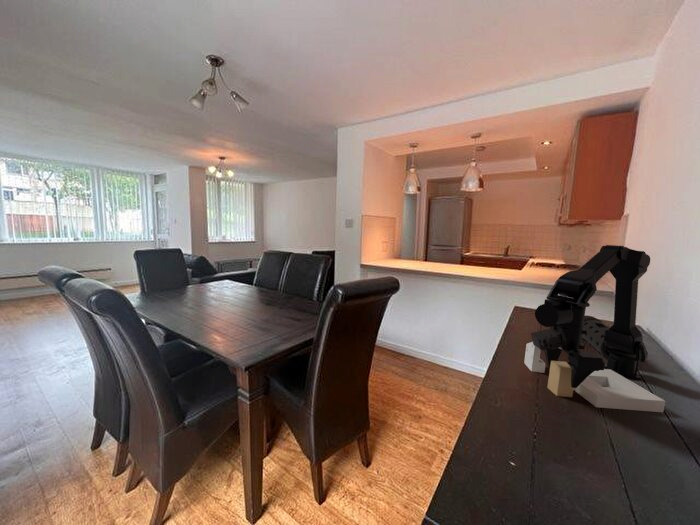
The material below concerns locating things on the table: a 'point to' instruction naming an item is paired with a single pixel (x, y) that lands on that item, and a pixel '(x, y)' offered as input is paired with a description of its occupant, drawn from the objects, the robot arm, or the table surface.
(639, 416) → the table surface
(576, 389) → the socket plate
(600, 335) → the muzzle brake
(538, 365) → the white angled block
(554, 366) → the plug
